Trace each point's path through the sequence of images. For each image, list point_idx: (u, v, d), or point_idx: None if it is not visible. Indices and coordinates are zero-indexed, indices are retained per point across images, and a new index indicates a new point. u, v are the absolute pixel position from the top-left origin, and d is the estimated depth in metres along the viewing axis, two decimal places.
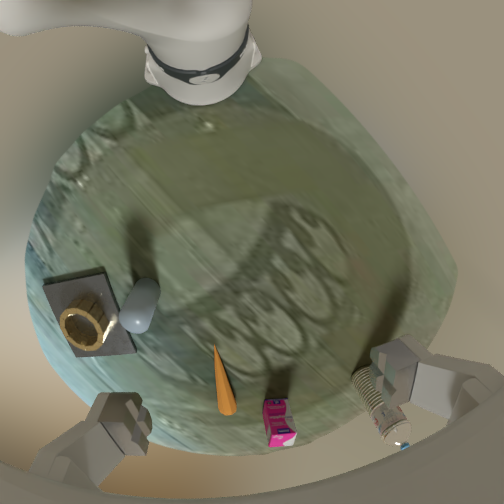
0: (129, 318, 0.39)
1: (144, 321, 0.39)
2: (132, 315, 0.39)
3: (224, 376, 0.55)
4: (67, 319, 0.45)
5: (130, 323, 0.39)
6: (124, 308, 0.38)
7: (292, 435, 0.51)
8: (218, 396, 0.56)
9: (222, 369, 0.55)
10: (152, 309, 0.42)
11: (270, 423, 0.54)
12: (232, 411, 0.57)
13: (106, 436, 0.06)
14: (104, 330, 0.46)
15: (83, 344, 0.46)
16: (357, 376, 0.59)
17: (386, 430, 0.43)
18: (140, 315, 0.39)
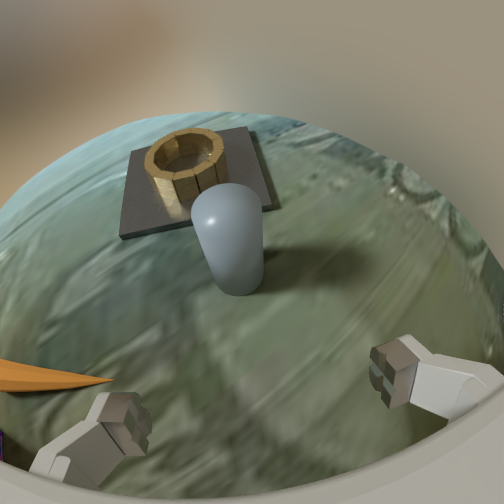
0: (229, 201, 0.20)
1: (221, 228, 0.19)
2: (237, 207, 0.20)
3: (48, 386, 0.21)
4: (199, 141, 0.35)
5: (217, 202, 0.20)
6: (254, 194, 0.20)
7: None
8: (13, 364, 0.21)
9: (62, 385, 0.21)
10: (232, 259, 0.21)
11: None
12: None
13: (106, 436, 0.06)
14: (176, 185, 0.30)
15: (156, 153, 0.33)
16: None
17: None
18: (237, 221, 0.19)
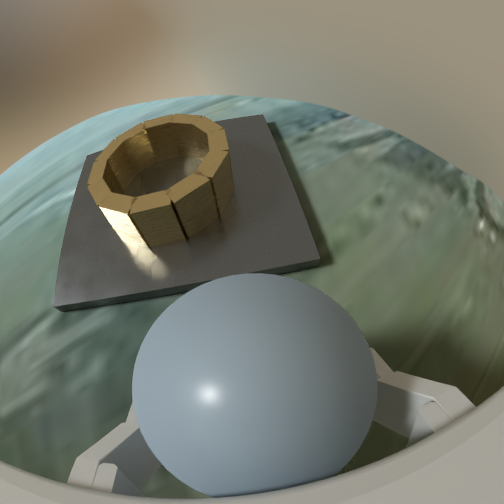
0: (262, 358, 0.05)
1: (241, 469, 0.04)
2: (294, 383, 0.05)
3: None
4: (186, 137, 0.20)
5: (220, 358, 0.05)
6: (347, 326, 0.05)
7: None
8: None
9: None
10: None
11: None
12: None
13: None
14: (137, 222, 0.15)
15: (112, 158, 0.18)
16: None
17: None
18: (297, 446, 0.04)
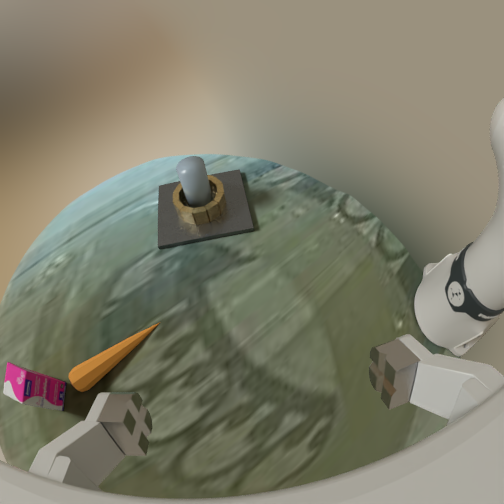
0: (191, 162, 0.47)
1: (187, 172, 0.46)
2: (194, 164, 0.47)
3: (123, 351, 0.40)
4: None
5: (187, 163, 0.47)
6: (201, 159, 0.47)
7: (19, 396, 0.26)
8: (92, 358, 0.39)
9: (131, 345, 0.41)
10: (193, 186, 0.48)
11: (39, 376, 0.31)
12: (77, 382, 0.35)
13: (106, 436, 0.06)
14: (194, 216, 0.50)
15: (180, 192, 0.53)
16: None
17: None
18: (193, 169, 0.46)
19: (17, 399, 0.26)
